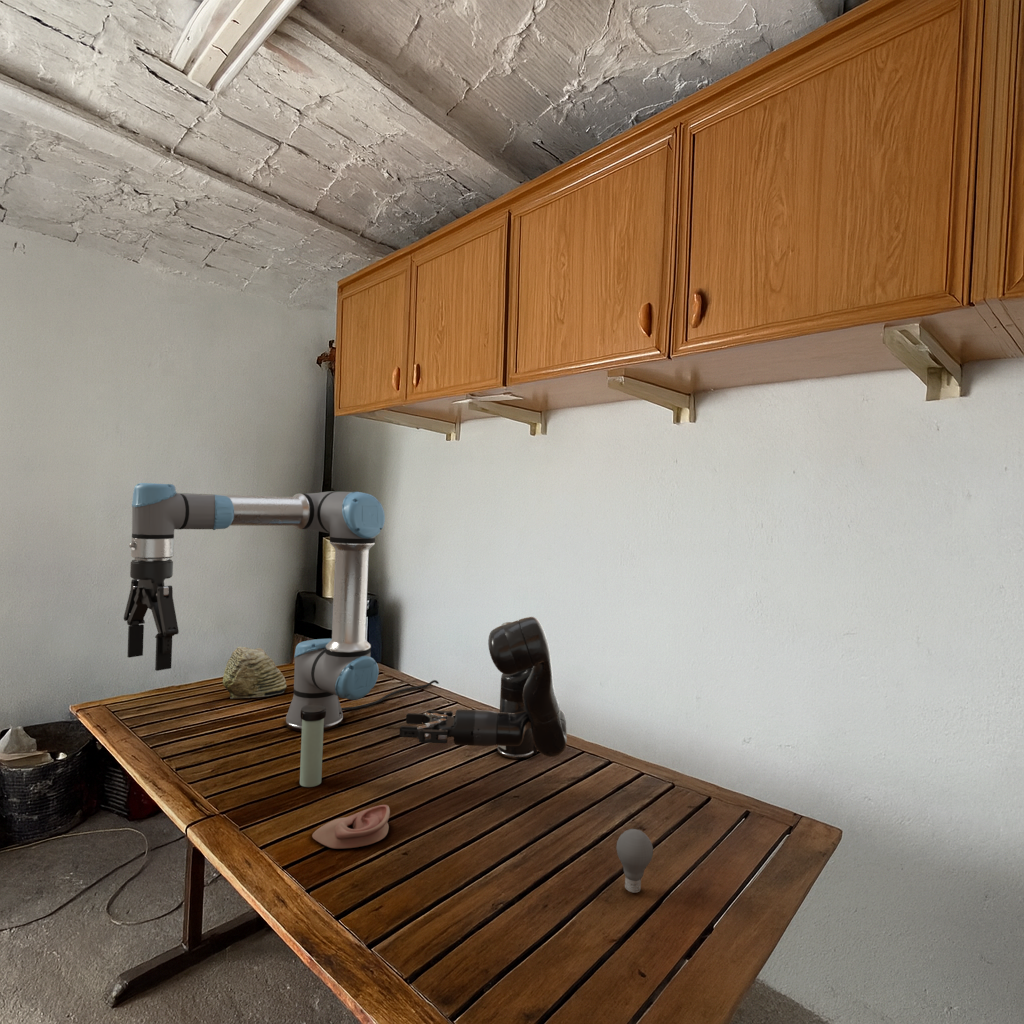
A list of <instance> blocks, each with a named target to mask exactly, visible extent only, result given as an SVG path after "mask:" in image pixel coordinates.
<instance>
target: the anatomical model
mask: <svg viewBox="0 0 1024 1024" xmlns="http://www.w3.org/2000/svg"><path fill="white" fill-rule="evenodd" d="M390 816H391V809H390V807H389V805H388V804H380V805H376V806H372V807H368V808H366V809H363V810H361V811H359V812H356V813H353V814H351V815H349V816H346V817H338V818H336V819H333V820H331V821H328V822H326V823H325V824H323V825H322V826H320V827H319V828H317V829H316V830H315V831H314V832H313V833H312V834H311V837H312V839H313V840H315V841H316V842H318V843H319V844H320V845H322V846H325V847H327V848H330V849H334V850H335V849H336V850H341V849H344V850H345V849H353V848H359V847H365V846H369V845H373V844H375V843H378V842H380V841H382V840H384V839H385V838H386V837H387V835H388V833H389V828H390V826H389V825H390V824H389V823H388V821H389V819H390Z"/></svg>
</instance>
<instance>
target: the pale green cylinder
mask: <svg viewBox="0 0 1024 1024" xmlns="http://www.w3.org/2000/svg"><path fill="white" fill-rule="evenodd" d="M323 729H324V718H323V719H321V720H317V721H305V720H302V732H301V734H300V735H301V737H300V738H301V739H300V740H301V741H300V763H299V764H300V765H299V767H300V768H299V785H300V786H301V787H304V788H313V787H317V786H319V785H321V784H322V779H323V778H322V777H323V774H322V773H323V754H324V753H323V751H324V750H323V749H324V731H323Z"/></svg>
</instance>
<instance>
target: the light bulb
mask: <svg viewBox="0 0 1024 1024" xmlns="http://www.w3.org/2000/svg"><path fill="white" fill-rule="evenodd" d="M615 849H616V854H617V857H618V859H619V861H620V863H621V865H622V867H623V873H624V874H623V875H624V876H625V878H624V888H625V890H627V891H628V892H630V893H634V894H635V893H639V892H640V891H641V889H642V887H641V886H642V879H643V877H644V875H645V871H646V868H647V867H648V866H649V864H650V863H651V861H652V859H653V855H654V847H653V843H652V841H651V838H649V836H648V835H647V834H646V833H645V832H643V831H642V830H641V829H636V828H629V829H627V830H625V831H623V832H622V833H621V834H620V835H619V837H618V839H617V841H616V847H615Z"/></svg>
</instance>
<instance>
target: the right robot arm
mask: <svg viewBox="0 0 1024 1024" xmlns="http://www.w3.org/2000/svg"><path fill="white" fill-rule="evenodd" d="M487 645H488V652H489V655H490V658H491V661H492V663H493V665H494V666H495V668H496V669H497V670H498V671H499V672H500V673H501V675H500V693H499V711H493V710H487V709H486V710H485V709H466V708H465V709H462V708H461V709H460V708H458V709H456V711H455V715H454V711H451V710H435V709H428V710H426V711H425V712H423V713H415V712H407V713H406V716H405V723H406V724H407V725H401V726H400V727H399V735H398V736H399V737H400V738H411V739H414V738H415V739H417V740H418V743H420V744H447V743H448V738H451V737H452V738H453V744H454V745H456V746H469V747H470V746H471V747H490V746H491V747H492V746H493V747H494V746H497V753H498V754H499V755H500V756H502V757H504V758H507V759H513V760H523V759H527V758H530V757H532V756H534V755H537V754H538V752H539V753H540V754H541V755H542V756H545V757H548V758H554V757H555V758H556V757H558V756H560V755H562V754H563V752H564V751H565V750H566V748H567V745H568V735H567V733H568V732H567V717H566V713H565V712H564V711H563V710H562V709H561V707H560V703H559V699H558V697H557V694H556V689H555V685H554V671H553V664H552V655H551V649H550V644H549V640H548V637H547V634H546V632H545V629H544V626H543V625H542V623H541V622H540V620H539V619H538V618H537V617H535V616H527V617H522V618H519V619H518V620H517V619H516V620H515V621H506V622H503V623H502V624H501V625H499V626H496V627H495V628H493V629H492V630H491V631H490V633H489V635H488V643H487ZM415 725H416V726H415ZM417 725H420V726H417Z"/></svg>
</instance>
